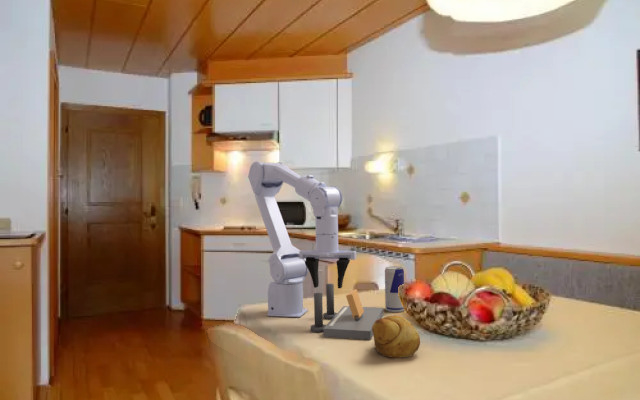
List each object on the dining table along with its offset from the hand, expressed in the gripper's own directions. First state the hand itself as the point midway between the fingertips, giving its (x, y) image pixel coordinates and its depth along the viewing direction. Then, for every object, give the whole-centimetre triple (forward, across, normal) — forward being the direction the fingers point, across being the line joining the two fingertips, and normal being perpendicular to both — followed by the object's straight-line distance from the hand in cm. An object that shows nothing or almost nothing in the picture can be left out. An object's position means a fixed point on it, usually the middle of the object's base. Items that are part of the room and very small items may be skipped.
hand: (328, 287), depth 122 cm
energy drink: (+10, +15, +17) cm, 25 cm away
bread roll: (+10, +19, -17) cm, 27 cm away
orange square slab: (+7, +8, 0) cm, 11 cm away
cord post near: (+9, -1, -6) cm, 11 cm away
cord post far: (+9, -1, +6) cm, 11 cm away
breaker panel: (+9, +7, 0) cm, 12 cm away
